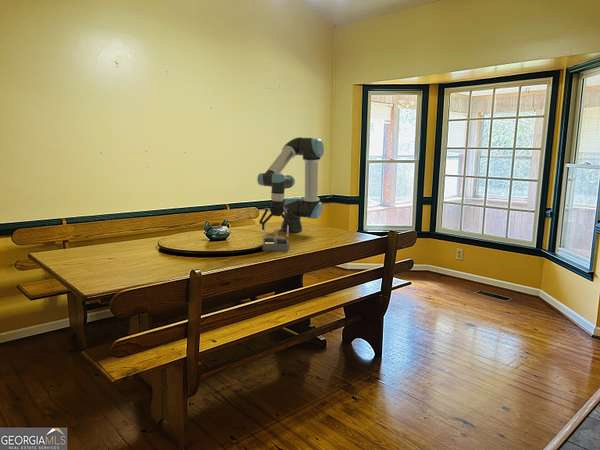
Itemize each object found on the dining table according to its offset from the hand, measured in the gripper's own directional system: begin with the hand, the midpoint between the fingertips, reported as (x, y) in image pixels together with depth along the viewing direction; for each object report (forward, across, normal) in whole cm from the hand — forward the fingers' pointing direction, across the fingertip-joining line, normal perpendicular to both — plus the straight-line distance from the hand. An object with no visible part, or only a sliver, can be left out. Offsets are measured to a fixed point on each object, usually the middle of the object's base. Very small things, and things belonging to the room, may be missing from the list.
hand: (275, 235), depth 262 cm
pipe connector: (+6, 0, 0) cm, 6 cm away
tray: (+7, 0, 0) cm, 7 cm away
